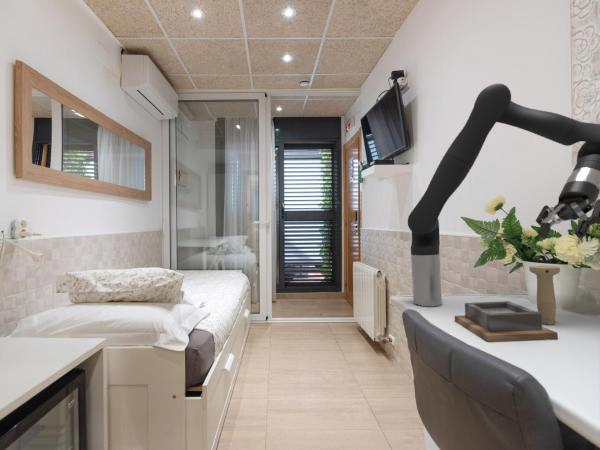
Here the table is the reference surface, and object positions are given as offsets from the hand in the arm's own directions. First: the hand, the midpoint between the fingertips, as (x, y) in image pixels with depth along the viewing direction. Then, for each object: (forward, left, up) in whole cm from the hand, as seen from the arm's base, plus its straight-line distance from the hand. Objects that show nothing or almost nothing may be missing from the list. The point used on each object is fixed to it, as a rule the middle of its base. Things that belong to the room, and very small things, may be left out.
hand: (559, 236), depth 80 cm
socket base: (0, -16, -23) cm, 28 cm away
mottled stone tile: (0, -16, -20) cm, 26 cm away
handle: (-3, -2, -23) cm, 24 cm away
